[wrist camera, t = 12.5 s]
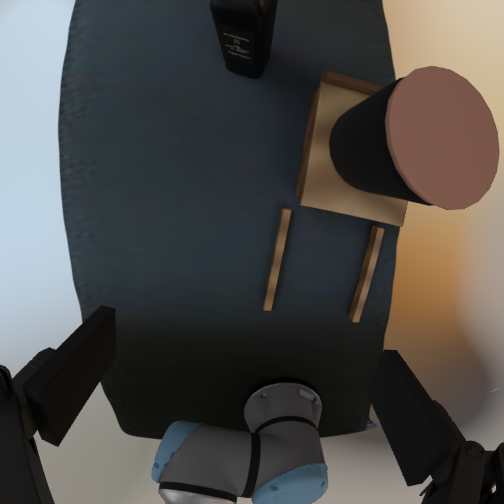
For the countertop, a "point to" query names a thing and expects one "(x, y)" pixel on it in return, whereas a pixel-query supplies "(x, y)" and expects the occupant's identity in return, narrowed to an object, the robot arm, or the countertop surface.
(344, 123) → the coffee jar
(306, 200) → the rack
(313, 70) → the countertop surface
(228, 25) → the wine bottle
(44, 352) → the robot arm
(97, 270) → the countertop surface
